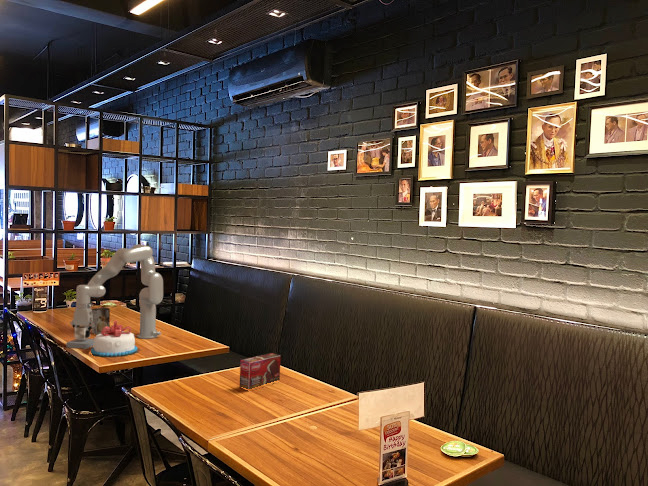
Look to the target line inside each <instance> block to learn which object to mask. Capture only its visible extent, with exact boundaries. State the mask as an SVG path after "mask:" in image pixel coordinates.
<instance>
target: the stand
mask: <svg viewBox="0 0 648 486" xmlns="http://www.w3.org/2000/svg"><path fill="white" fill-rule="evenodd" d="M89 347H90V348H93V347H94V338H85V339H78V338H74V339H72V340H70V341H67V342H66V348H68V349H78V348H82V349H81V350H86V349H90V348H89Z"/></svg>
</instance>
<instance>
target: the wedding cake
mask: <svg viewBox="0 0 648 486" xmlns="http://www.w3.org/2000/svg"><path fill="white" fill-rule="evenodd" d="M106 329H107V330H106ZM127 329H129V330H128V331H126V330H127ZM135 337H136V336H135V334H134V332H133V333H132V328H131V327H130V326H126V327H124V325H123V324H118V320H114V321H113V325H110V326H109V327H108V326H106V327H103V330H102V331H101V334H96V336H95V337H94V338H93V339H94V346H92V347H91V349H90V350H91V353H92V355H93V356H92V355H91V356H92V357H94V356H95V357H96V358H104V359H105V358H109V359H110V358H122V357H123V358H124V357H127V356H134V355H136V354H139V353H140V351H141V349H140V348H139V347H137V346H136V345H135V344H136V340H135V339H136V338H135Z"/></svg>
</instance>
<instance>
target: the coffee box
mask: <svg viewBox="0 0 648 486" xmlns="http://www.w3.org/2000/svg"><path fill="white" fill-rule="evenodd" d="M91 309H92V315H93V322H94V323H95V326H94V327H93V328H92V329H91V333H92V334H93V333H94V335H98V334H101V331H102V330H103V327H106V326H108V327H109V326H110V327H111V324H110V321H111V319H110V318H111V317H110V316H111V315H110V312H111V311H110V309H111V308H109V307H106V306H105V307H104V306H103V307H96V308H95V307H94V308H91ZM106 330H107V329H106Z"/></svg>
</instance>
